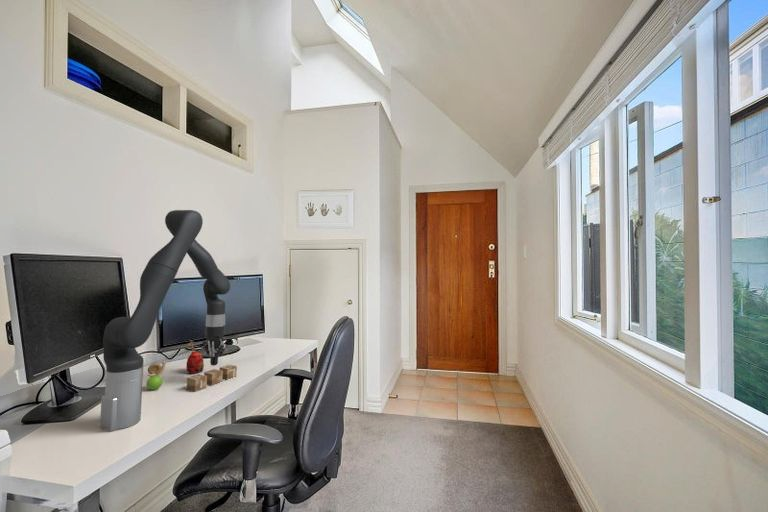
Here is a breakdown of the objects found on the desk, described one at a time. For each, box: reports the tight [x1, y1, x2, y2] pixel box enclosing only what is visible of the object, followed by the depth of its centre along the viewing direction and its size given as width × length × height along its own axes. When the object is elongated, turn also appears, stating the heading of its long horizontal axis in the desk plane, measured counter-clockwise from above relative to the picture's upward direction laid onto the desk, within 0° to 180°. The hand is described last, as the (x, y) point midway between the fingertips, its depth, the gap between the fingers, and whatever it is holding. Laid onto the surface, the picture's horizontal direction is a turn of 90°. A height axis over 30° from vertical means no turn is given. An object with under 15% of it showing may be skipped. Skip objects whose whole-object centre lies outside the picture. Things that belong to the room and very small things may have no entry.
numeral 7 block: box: [218, 364, 238, 381], centre depth 145 cm, size 5×5×5 cm
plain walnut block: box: [203, 368, 223, 387], centre depth 138 cm, size 5×5×5 cm
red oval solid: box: [185, 339, 205, 375], centre depth 152 cm, size 8×7×15 cm
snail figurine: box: [145, 357, 167, 391], centre depth 131 cm, size 5×6×12 cm
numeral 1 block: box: [186, 373, 208, 393], centre depth 132 cm, size 5×5×5 cm
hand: (214, 364), depth 139 cm, fingers closed
